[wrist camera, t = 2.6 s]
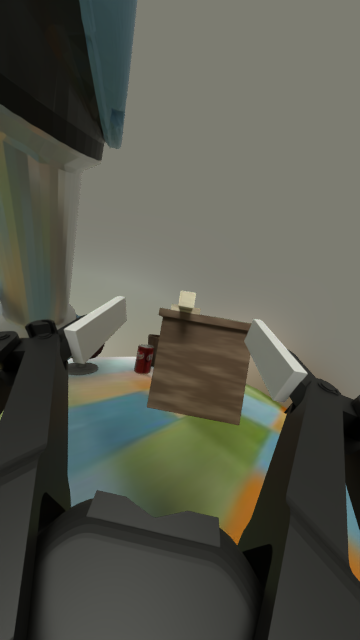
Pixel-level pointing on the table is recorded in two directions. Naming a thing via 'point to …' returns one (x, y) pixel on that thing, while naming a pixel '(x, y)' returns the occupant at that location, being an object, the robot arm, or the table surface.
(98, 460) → the table surface
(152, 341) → the plant pot
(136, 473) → the table surface
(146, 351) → the soda can
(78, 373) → the mate gourd
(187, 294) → the cream flat bar
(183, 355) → the wooden block with lid
